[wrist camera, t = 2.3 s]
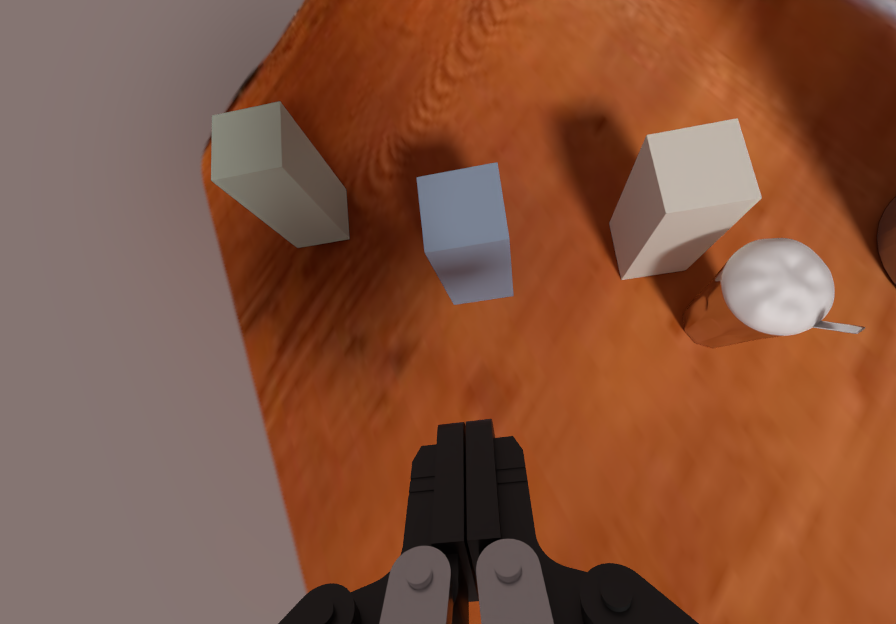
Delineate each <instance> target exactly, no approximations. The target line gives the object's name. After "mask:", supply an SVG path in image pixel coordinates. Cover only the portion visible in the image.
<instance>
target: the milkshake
mask: <svg viewBox="0 0 896 624" xmlns="http://www.w3.org/2000/svg"><path fill="white" fill-rule="evenodd" d="M833 301H834V282H833V278H832V275H831V272H830V270H829V268H828V267H827V266H826V264H825V263H824V262H823V261H822V260H821V259H820V257H819V256H818V255H817V254H816V253H815V252H814V251H813V250H812V249H810V248H809V247H808V246H806V245H804V244H802V243H800V242H798V241H796V240H792V239H787V238H772V239H760V240H756V241H753V242H751V243H749V244H747V245H745V246H743V247H742V248H740V249H739V250H738V251H736V252H735V253H734V254H733V255H732V256H731V258H730V259H729V260H728V261H727V262H726V263H725V265H724V266H723V267H722V268H721V270H720V271H719V272H718V273H717V274H716V276H715V277H714V278H713V279H712V280H711V281H710V282H709V283H708V285H707V286H706V287H705V288H704V289H703V290H702V291H701V292H700V293H699V294H698V295H697V296H696V297H695V298H694V299H693V300H692V302H691V303H690V305H689V306H688V307H687V309H686V310H685V312H684V313H683V323H684V331H685V332H686V333H687V334H688V335H689V336H690V338H691V339H692V340H693V341H694V342H695V343H696V344H699V345H703V346H706V347H710V348H713V349H715V348H719V347H724V346H729V345H734V344H738V343H743V342H748V341H753V340H759V339H766V338H773V337H780V336H787V335H795V334H799V333H802V332H804V331H806V330H808V329H810V328H812V327H813V328H820V329H826V330H833V331H839V332H846V333H852V334H858V333H859V332H861V331H862V330H864V329H865V327H863V326H856V325H848V324H841V323H834V322H826V321H821V320H822V319H823V318H824V317H825V316H826V315H827V313H828V312H829V310H830V309H831V307H832V304H833Z"/></svg>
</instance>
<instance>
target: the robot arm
mask: <svg viewBox="0 0 896 624" xmlns="http://www.w3.org/2000/svg"><path fill="white" fill-rule="evenodd" d="M877 242H878V251H879V255H880V257H881V260H882V263H883V266H884V268H885V270H886V271H887V273H888V274H889V276H890V278H891V279H892V281H893V282H894V283H895V284H896V197H895V198H894V199H893V200H892V202H891V203H890V204H889V205H888V207H887V208H886V209H885V211H884V213H883V215H882V218H881V220H880V222H879V228H878V234H877ZM472 601H479V604H480V613H481V623H482V624H699V623H697V622H696V621H695V620H694V619H692V618H691V617H690V616H689V615H688V614H686V613H685V612H684V611H683V610H681V609H680V608H679V607H678V606H677V605H675V604H674V603H673V602H672V601H670V600H669V599H668V598H667V597H666V596H664V595H663V594H662V593H661V592H659V591H658V590H657V589H656V588H655V587H653V586H652V585H651V584H650V583H648V582H647V581H646V580H645V579H644V578H642V577H641V576H640V575H639V574H637V573H636V572H635V571H633V570H632V569H630V568H628V567H626V566H623V565H619V564H614V563H606V564H601V565H598V566H595V567H594V568H592V569H591V570H589V571H588V572H584V571H580V570H577V569H573V568H569V567H565V566H562V565H560V564H558V563H556V562H555V561H553V560H552V559H550V558H549V557H548V556H547V555H546V554H545V553H544V552H543V551H542V549H541V548H540V546H539V544H538V542H537V539H536V535H535V528H534V521H533V515H532V508H531V501H530V495H529V488H528V481H527V475H526V468H525V461H524V454H523V449H522V448H521V447H520V445H519V444H518V442H517V441H516V440H515V438H514V437H513V436H509V437H500V438H495V434H494V428H493V422H492V419H485V420H477V421H468V422H466V426H465V423H464V422H460V423H451V424H442V425H438V430H437V444H436V445H427V446H421V448H420V450H419V451H418V453H417V455H416V456H415V458H414V460H413V461H412V470H411V482H410V488H409V497H408V506H407V515H406V523H405V532H404V541H403V548H402V552H401V555H400V557H399V558H398V559H397V560H396V561H395V563H394V564H393V566H392V569H391V571H390V572H389V573H388V574H387V575H385V576H384V577H383V578H381V579H380V580H378V581H376V582H374V583H372V584H369V585H367V586H365V587H362V588H360V589H358V590H355V591H353V592H351V593H350V592H349V590H348V589H347V588H345V587H344V586H342V585H339V584H325V585H321V586H319V587H317V588H315V589H313V590H312V591H310V592H309V593H308V594H306V595H305V596H304V597H303V598H302V599H301V600H300V601H299V602H298V604H297V605H296V606H295V607H294V608H293V609H292V610H291V611H290V612H289V613H288V614H287V615H286V616H285V617H284V618H283V619H282V620H281V621H280V623H279V624H469V602H472Z"/></svg>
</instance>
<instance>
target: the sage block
mask: <svg viewBox="0 0 896 624" xmlns="http://www.w3.org/2000/svg"><path fill="white" fill-rule="evenodd" d="M211 181H212V182H214V183H215V184H216V185H217V186H219V187H220V188H221V189H223V190H224V191H225V192H226V193H228V194H229V195H230V196H232V197H233V198H234V199H235V200H237V201H238V202H239V203H240V204H242V205H243V206H244V207H246V208H247V209H248V210H249V211H251V212H252V213H253V214H254V215H256V216H257V217H258V218H260V219H261V220H262V221H263V222H265V223H266V224H267V225H269V226H270V227H271V228H272V229H274V230H275V231H276V232H277V233H279V234H280V235H281V236H283V237H284V238H285V239H286V240H288V241H289V242H290V243H291V244H293V245H294V246H295V247H297V248H301V247H307V246H313V245H319V244H325V243H330V242H336V241H342V240H348V239H350V238H349V222H348V207H347V192H346V188H345V187H344V186H343V184H342V183H341V182H340V180H339V179H338V178H337V176H336V175H335V174H334V172H333V171H332V170H331V168H330V167H329V166H328V164H327V163H326V162H325V160H324V159H323V158H322V156H321V155H320V154H319V152H318V151H317V150H316V148H315V147H314V146H313V144H312V143H311V142H310V140H309V139H308V138H307V136H306V135H305V134H304V132H303V131H302V130H301V128H300V127H299V126H298V124H297V123H296V122H295V120H294V119H293V118H292V116H291V115H290V114H289V112H288V111H287V110H286V108H285V107H284V106H283V104H282V103H281V102H280V101H279V102H275V103H270V104H265V105H260V106H256V107H251V108H246V109H242V110H237V111H232V112H227V113H223V114H218V115H213V116H212V158H211Z"/></svg>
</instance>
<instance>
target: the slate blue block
mask: <svg viewBox="0 0 896 624" xmlns="http://www.w3.org/2000/svg"><path fill="white" fill-rule="evenodd" d="M417 186H418V195H419V205H420V214H421V223H422V233H423V242H424V251H425V254H426V256H427V258H428V260H429V261H430V263H431V265H432V267H433V268H434V270H435V272H436V274H437V276H438V277H439V279H440V281H441V283H442V284H443V286H444V288H445V290H446V291H447V293H448V295H449V297H450V298H451V300H452V302H453V304H454V305H456V304H463V303H469V302H476V301H483V300H490V299H496V298H503V297H510V296H513V283H512V270H511V256H510V242H509V234H508V228H507V221H506V215H505V208H504V202H503V195H502V189H501V183H500V176H499V170H498V163H491V164H486V165H480V166H475V167H470V168H464V169H459V170H453V171H448V172H442V173H437V174H431V175H426V176H421V177H417Z"/></svg>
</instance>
